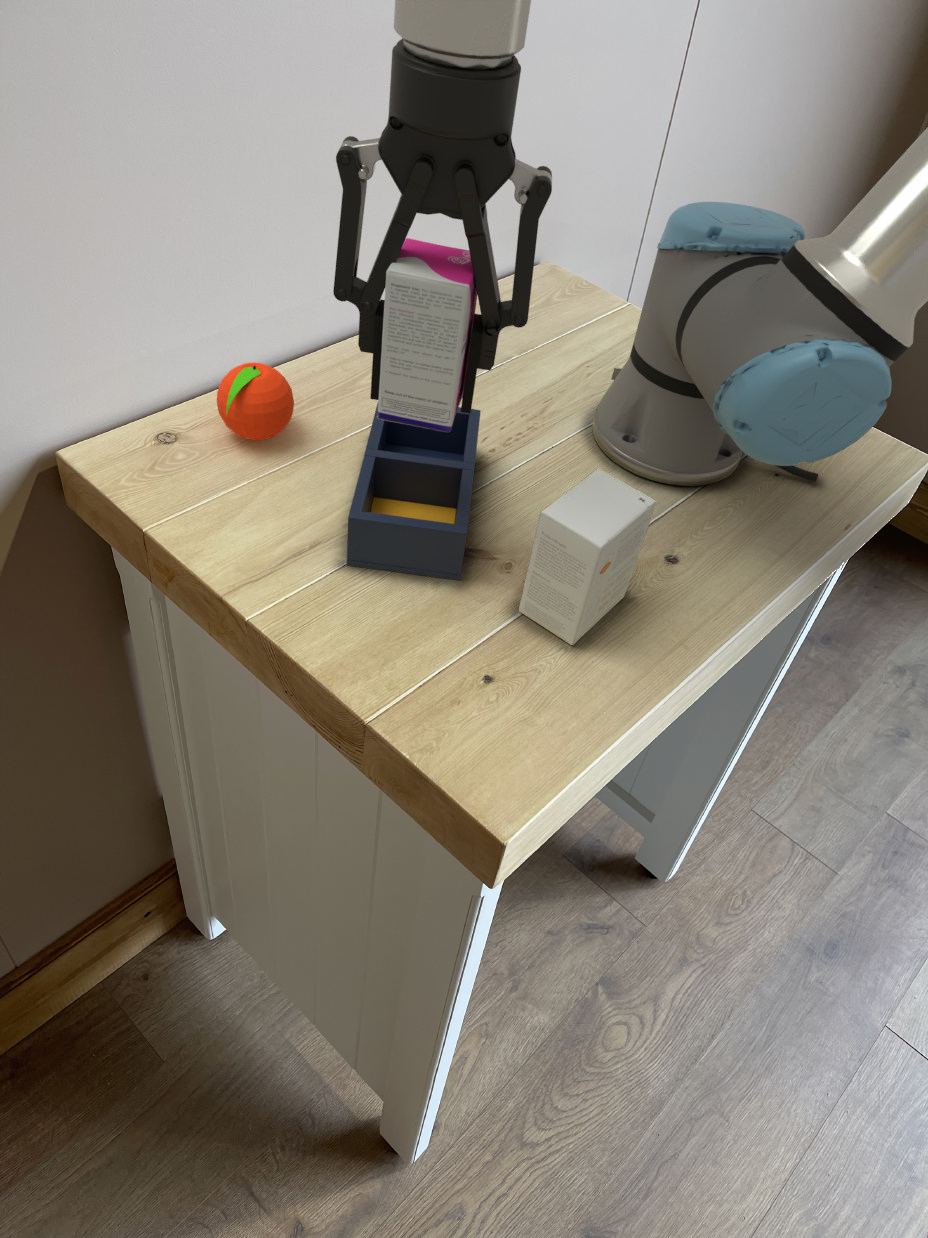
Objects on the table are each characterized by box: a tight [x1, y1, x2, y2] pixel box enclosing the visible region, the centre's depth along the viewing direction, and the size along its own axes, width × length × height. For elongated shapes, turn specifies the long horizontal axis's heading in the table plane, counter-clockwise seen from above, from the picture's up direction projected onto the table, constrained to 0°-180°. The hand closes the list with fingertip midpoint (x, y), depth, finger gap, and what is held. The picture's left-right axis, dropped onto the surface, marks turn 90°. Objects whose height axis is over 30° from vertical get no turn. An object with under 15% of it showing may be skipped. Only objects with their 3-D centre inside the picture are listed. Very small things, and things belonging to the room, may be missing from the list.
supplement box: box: [377, 237, 478, 432], centre depth 66 cm, size 6×6×12 cm
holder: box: [346, 402, 481, 581], centre depth 80 cm, size 18×9×5 cm, turn 176°
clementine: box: [216, 362, 295, 441], centre depth 84 cm, size 8×7×7 cm
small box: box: [518, 468, 658, 646], centre depth 72 cm, size 8×6×10 cm
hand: (422, 395), depth 69 cm, fingers closed on supplement box, 6 cm apart
